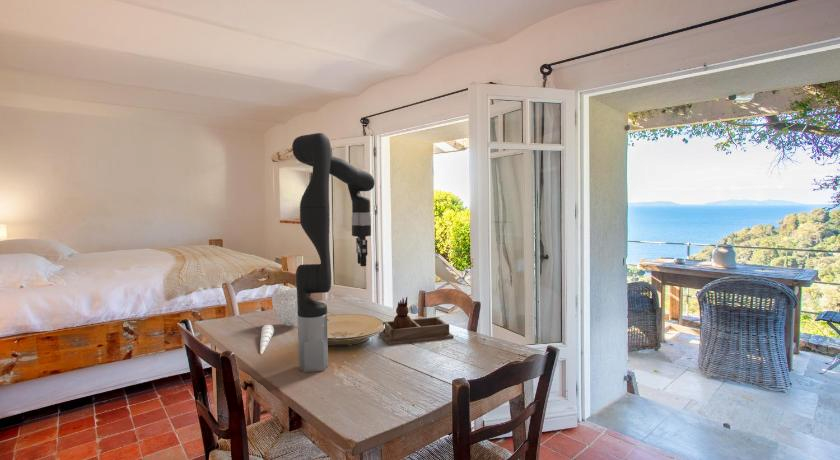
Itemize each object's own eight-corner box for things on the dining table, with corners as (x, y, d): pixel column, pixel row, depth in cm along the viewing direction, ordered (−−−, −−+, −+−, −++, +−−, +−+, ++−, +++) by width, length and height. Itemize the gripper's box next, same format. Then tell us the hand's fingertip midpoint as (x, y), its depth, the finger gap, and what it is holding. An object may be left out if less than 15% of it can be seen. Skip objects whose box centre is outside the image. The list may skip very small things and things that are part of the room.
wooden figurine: (413, 333, 163) (413, 296, 162) (405, 337, 158) (405, 298, 157) (399, 330, 166) (399, 294, 165) (391, 334, 161) (391, 296, 161)
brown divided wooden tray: (453, 338, 160) (453, 325, 160) (388, 345, 152) (388, 332, 152) (439, 326, 176) (439, 315, 175) (379, 332, 168) (379, 320, 167)
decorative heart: (266, 325, 179) (265, 286, 178) (285, 319, 188) (285, 282, 187) (293, 332, 169) (292, 291, 168) (313, 325, 178) (312, 286, 177)
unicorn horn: (249, 356, 142) (249, 343, 142) (262, 335, 166) (262, 324, 165) (264, 355, 143) (263, 342, 143) (274, 335, 167) (274, 323, 166)
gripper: (349, 223, 168) (350, 263, 168) (353, 224, 154) (354, 267, 155) (368, 223, 170) (368, 262, 170) (373, 224, 156) (374, 266, 157)
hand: (361, 264), depth 163 cm, fingers open, 8 cm apart
